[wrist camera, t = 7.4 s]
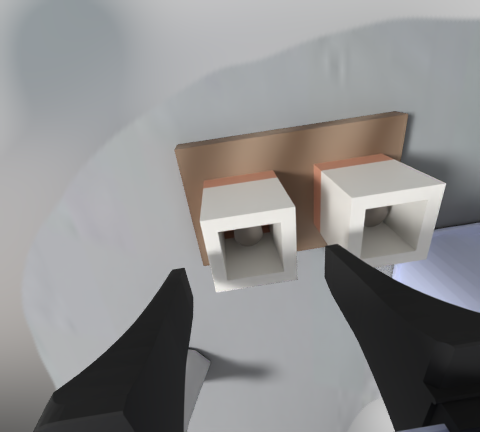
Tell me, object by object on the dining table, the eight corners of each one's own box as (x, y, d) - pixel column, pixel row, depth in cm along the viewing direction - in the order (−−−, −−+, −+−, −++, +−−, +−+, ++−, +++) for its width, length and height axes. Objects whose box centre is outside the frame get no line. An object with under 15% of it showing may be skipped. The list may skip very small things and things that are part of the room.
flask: (166, 337, 28) (144, 453, 20) (221, 357, 31) (224, 470, 22) (135, 372, 31) (103, 491, 22) (189, 389, 33) (179, 502, 24)
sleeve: (272, 170, 19) (295, 206, 14) (277, 229, 21) (297, 279, 16) (203, 180, 19) (199, 221, 14) (215, 238, 21) (216, 292, 16)
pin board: (394, 111, 19) (455, 123, 14) (378, 227, 24) (420, 266, 19) (177, 144, 19) (164, 168, 14) (204, 255, 24) (201, 301, 19)
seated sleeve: (381, 153, 19) (446, 183, 14) (374, 214, 21) (426, 259, 16) (313, 164, 19) (352, 198, 14) (313, 223, 21) (346, 272, 16)
